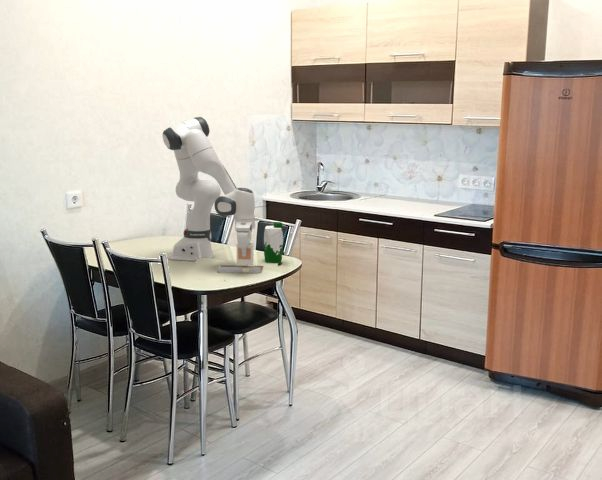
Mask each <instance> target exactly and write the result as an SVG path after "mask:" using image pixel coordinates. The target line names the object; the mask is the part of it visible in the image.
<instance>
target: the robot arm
mask: <svg viewBox="0 0 602 480" xmlns="http://www.w3.org/2000/svg"><path fill="white" fill-rule="evenodd" d="M210 133H211V132H210V127H209V124H208V122H207V121H206V119H205V118H204V117H202V116H196V117H193V118H190V119H187V120H184V121H181V122H179V123H177V124H175V125H173V126H171V127H170V126H169V127H166V129H164V130H163V132H162V140H163V141H162V142H163V143H164V145H165V146H166V148H167V150H171V151H173V153H174V156H175V159H176V164H177V167H178V171H179V180H178V182H177V184H176V185H175V193H176V196H177V197H178V198H179V199H181V200H184V201H187V202H193V203H194V205H193V208H192V209H191V210H190V211H189V212H188V213H187V216H186V217H187V221H186V222H187V223H186V224H187V228H185V229H183V237H182V238H180V239H179V240H178V241H177V242H176V243H175V244H173V247H172V252H171V253H169V254H168V257H167V258H168V260H172V261H173V260H174V261H188V262H189V261H190V262H191V261H192V262H196V261H197V260H199V259H212V258H214V257H215V255H214V252H213V249H212V243H211V241H212V230H211V212H212V208H213V207H214V210H215V212H216V213H217V215H219V216H221V217H229V216H234V229H235V232H236V239H237V244H238V248H239V249H241V250H242V256H243V257H245V256H246V248H247V246H248V245H249V243H251V241H252V232H253V229H255V227H256V224H255V223H256V218H255V209H256V208H255V207H256V206H255V205H256V204H255V203H256V202H255V194H254V191H253V190H252V189H249V188H246V187H237V186H236V184H235V183H234V181H233V179H232V177H231V176H230V174H229V173H228V171H227V169H226V167H225V166H224V164H223V163H222V162H221V160H220V158H219V157H218V155H217V153H216V151H215V149H214V147H213V145H212V143H211V141H210V140H209V138H208V137H209V135H210ZM199 172H200V173H203V174H205V175H208V176H210V177H212V178H213V179H215V181H216V182H217V183H216V182H214V181H210V180H204V179H200V178H199V175H198V174H199ZM221 191H222V192H223V195H221V193H222V192H221Z"/></svg>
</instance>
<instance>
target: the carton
mask: <svg viewBox="0 0 602 480" xmlns="http://www.w3.org/2000/svg"><path fill="white" fill-rule="evenodd" d="M253 265H254V242H250V243H249V245H248V246H247V248H246V256H245V257H243V256H242V250H241V249H239V248H238V243H237V244H236V266H253Z"/></svg>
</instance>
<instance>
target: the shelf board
mask: <svg viewBox="0 0 602 480" xmlns="http://www.w3.org/2000/svg"><path fill="white" fill-rule="evenodd" d="M219 267H260V273H259V274H262V272H263V270H264V265H237V264H236V265H231V264H230V265H225V264H222V265H220V266H219ZM216 273H217V274H219V273H218V270H217V272H216Z"/></svg>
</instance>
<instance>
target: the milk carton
mask: <svg viewBox="0 0 602 480" xmlns="http://www.w3.org/2000/svg"><path fill="white" fill-rule="evenodd" d="M283 233H284V232H283V223H282V222H281V221H280V222H279V221H277V222H273V225H266V226H265V227H264V232H263V258H264V263H266V264H267V263H268V264H277V266H281V264H282V260H283V259H282V258H283V253H284V249H283V248H284V235H283Z"/></svg>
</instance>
